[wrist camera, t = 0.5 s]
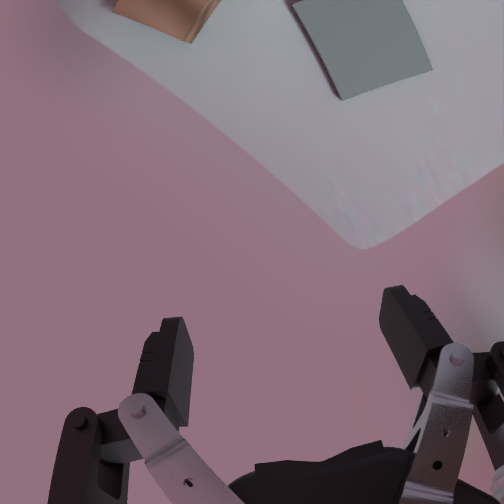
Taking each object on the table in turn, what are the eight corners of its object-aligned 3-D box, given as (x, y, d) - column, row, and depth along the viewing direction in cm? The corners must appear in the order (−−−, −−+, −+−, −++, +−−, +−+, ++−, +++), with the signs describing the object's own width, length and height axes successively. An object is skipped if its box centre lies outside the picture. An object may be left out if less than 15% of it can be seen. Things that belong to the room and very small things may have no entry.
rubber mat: (291, 6, 25) (291, 4, 24) (386, -21, 21) (389, -23, 20) (340, 100, 30) (342, 100, 29) (428, 69, 27) (432, 70, 26)
